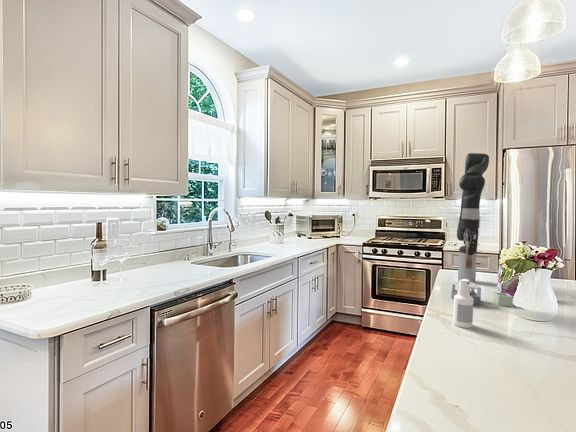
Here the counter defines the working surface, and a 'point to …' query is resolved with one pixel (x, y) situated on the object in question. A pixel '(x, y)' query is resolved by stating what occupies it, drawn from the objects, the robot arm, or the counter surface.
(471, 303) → the spray bottle
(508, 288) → the candy bar box
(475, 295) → the box
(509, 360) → the counter surface
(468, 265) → the walnut dowel
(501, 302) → the green square hole block
